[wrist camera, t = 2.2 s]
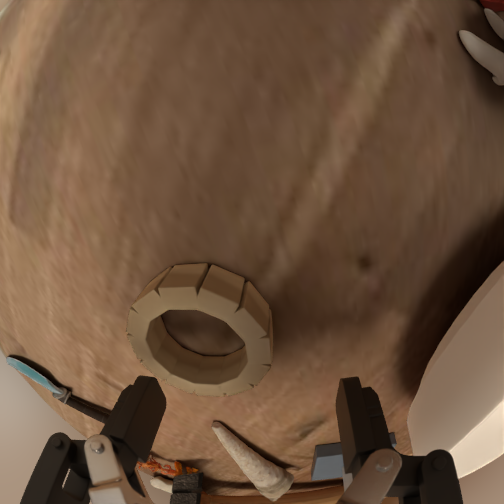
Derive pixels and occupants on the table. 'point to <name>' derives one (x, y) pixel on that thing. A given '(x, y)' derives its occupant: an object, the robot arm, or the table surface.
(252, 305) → the ring
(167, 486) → the arrowhead
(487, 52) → the character figure
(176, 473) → the dragon
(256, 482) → the seashell
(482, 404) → the bowl
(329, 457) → the peg stand
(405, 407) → the table surface
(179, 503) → the hammer
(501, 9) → the dental model
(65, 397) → the knife
